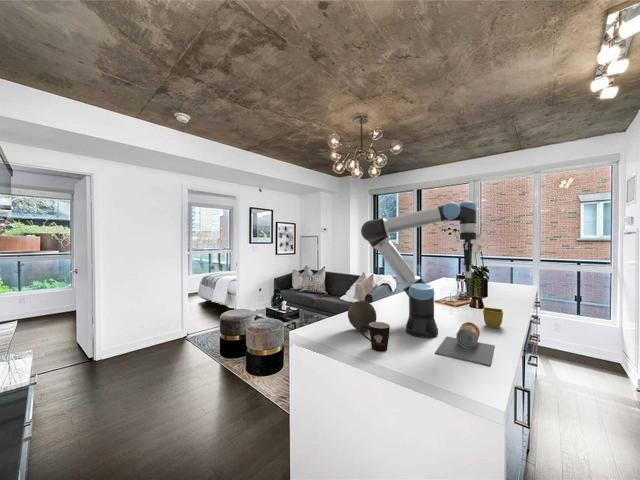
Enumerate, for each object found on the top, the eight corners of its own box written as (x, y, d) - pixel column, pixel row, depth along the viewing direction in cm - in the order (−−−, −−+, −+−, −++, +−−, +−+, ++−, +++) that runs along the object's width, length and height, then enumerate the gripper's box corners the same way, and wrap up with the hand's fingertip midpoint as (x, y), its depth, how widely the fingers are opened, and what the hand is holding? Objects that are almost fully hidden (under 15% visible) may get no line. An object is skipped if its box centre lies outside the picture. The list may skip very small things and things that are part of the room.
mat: (434, 353, 108) (434, 352, 108) (446, 337, 127) (446, 336, 127) (490, 366, 97) (490, 365, 97) (494, 346, 116) (494, 345, 116)
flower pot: (502, 325, 145) (502, 309, 145) (503, 330, 137) (503, 312, 137) (483, 323, 149) (483, 307, 149) (483, 327, 142) (482, 310, 142)
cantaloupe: (353, 325, 146) (353, 297, 146) (379, 328, 140) (379, 299, 140) (343, 333, 133) (343, 302, 133) (372, 337, 127) (372, 305, 127)
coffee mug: (394, 348, 114) (393, 324, 114) (383, 354, 107) (382, 329, 108) (370, 341, 122) (370, 319, 122) (359, 346, 116) (359, 323, 116)
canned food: (474, 320, 122) (471, 326, 112) (483, 337, 120) (481, 345, 110) (457, 324, 126) (452, 331, 116) (465, 341, 124) (461, 350, 114)
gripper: (474, 231, 132) (474, 279, 132) (477, 232, 143) (477, 277, 143) (457, 231, 137) (457, 278, 137) (461, 232, 147) (462, 276, 147)
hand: (468, 277), depth 140 cm, fingers closed
